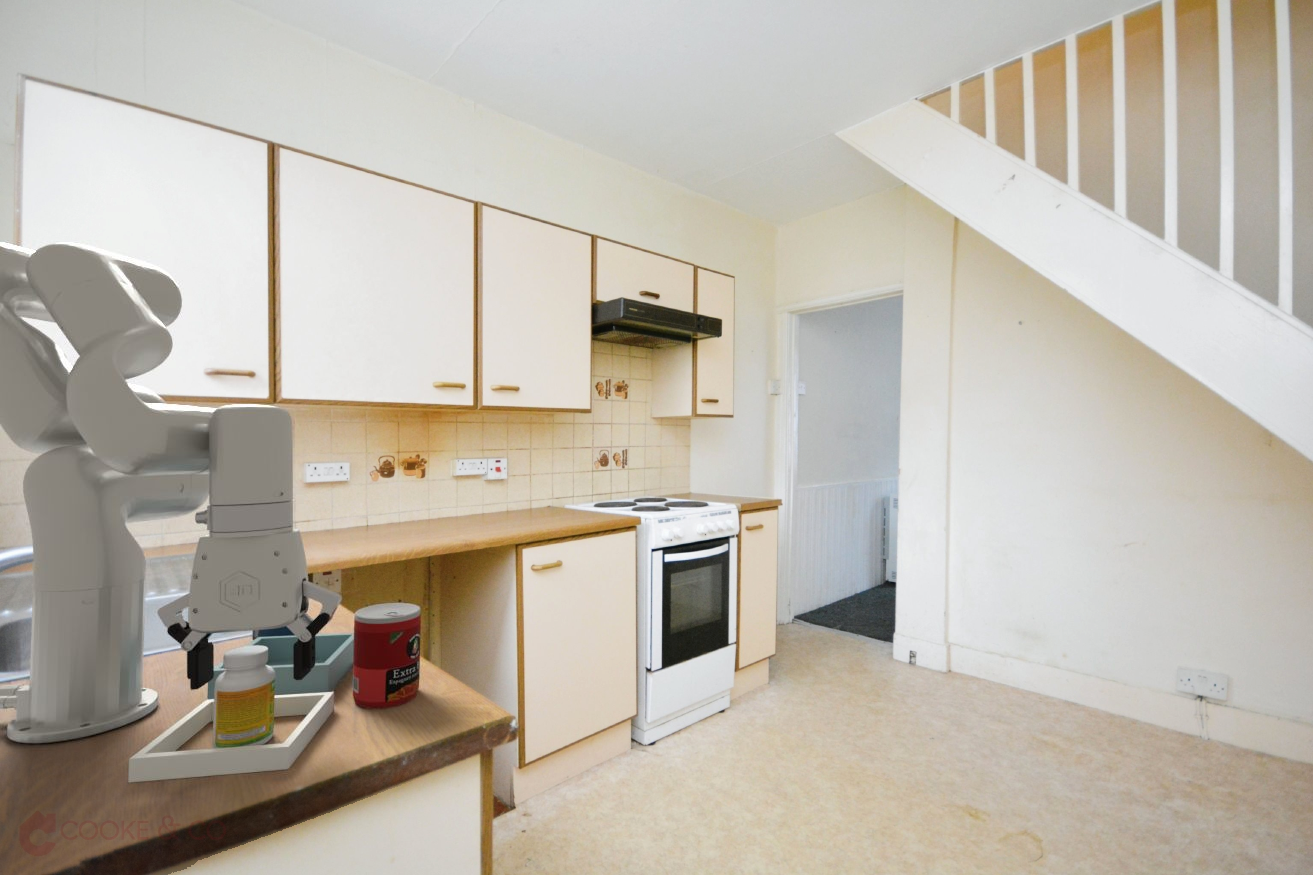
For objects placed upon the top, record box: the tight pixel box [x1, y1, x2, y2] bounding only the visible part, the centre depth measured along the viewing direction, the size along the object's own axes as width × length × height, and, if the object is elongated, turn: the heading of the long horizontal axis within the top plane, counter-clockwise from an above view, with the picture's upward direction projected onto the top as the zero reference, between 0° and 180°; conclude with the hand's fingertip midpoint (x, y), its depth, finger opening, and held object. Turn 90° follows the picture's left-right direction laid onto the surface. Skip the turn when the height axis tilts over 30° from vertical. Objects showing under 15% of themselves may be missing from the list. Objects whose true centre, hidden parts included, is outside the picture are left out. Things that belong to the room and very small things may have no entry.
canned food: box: [352, 602, 422, 710], centre depth 77 cm, size 8×8×11 cm
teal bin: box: [206, 632, 354, 700], centre depth 82 cm, size 14×14×4 cm
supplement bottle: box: [212, 645, 275, 749], centre depth 64 cm, size 5×5×10 cm
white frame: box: [127, 691, 335, 783], centre depth 64 cm, size 14×14×2 cm
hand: (253, 680), depth 64 cm, fingers open, 9 cm apart
